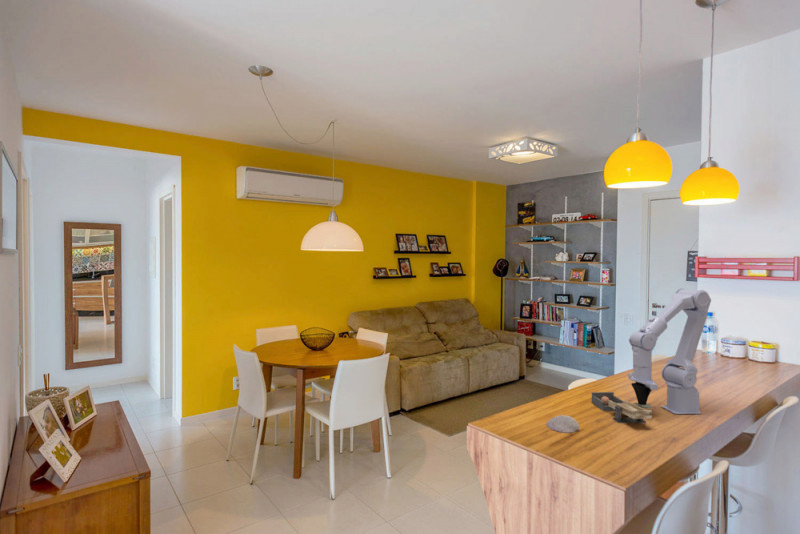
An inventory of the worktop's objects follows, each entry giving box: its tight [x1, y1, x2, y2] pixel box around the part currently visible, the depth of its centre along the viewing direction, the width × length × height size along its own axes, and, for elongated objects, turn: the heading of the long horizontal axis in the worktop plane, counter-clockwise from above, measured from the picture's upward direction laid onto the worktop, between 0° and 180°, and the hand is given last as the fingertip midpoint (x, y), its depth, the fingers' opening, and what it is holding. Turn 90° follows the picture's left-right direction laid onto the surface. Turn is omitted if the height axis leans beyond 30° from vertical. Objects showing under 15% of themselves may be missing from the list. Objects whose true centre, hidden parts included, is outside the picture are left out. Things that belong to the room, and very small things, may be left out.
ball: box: [601, 396, 609, 406], centre depth 163 cm, size 3×3×3 cm
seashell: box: [546, 414, 580, 434], centre depth 141 cm, size 10×6×10 cm
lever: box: [608, 399, 653, 420], centre depth 146 cm, size 13×16×2 cm
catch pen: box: [591, 391, 623, 412], centre depth 160 cm, size 8×9×4 cm
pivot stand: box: [612, 405, 647, 424], centre depth 146 cm, size 9×4×5 cm, turn 91°
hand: (642, 404), depth 152 cm, fingers closed, pressing on lever
